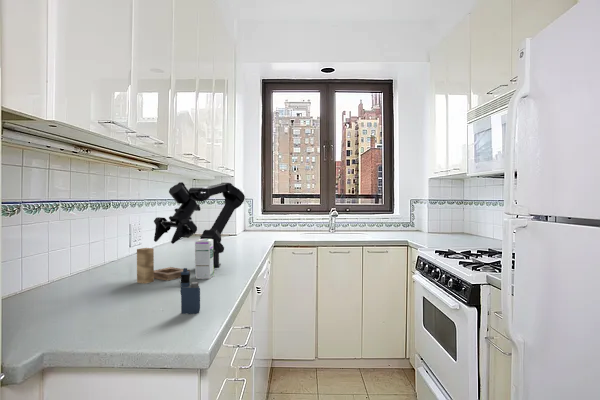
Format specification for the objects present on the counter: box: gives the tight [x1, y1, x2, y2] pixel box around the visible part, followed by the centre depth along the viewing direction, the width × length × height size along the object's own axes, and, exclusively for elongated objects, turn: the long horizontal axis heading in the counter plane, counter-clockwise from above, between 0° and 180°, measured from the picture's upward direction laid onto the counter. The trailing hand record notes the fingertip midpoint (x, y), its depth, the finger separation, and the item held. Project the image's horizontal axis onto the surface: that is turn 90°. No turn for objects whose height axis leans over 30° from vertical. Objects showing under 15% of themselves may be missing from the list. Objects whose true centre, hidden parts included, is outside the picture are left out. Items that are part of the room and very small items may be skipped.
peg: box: [136, 247, 155, 285], centre depth 144 cm, size 4×4×12 cm
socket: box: [154, 266, 191, 281], centre depth 154 cm, size 11×11×2 cm
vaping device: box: [179, 267, 201, 315], centre depth 108 cm, size 3×5×12 cm, turn 88°
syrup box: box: [194, 238, 215, 280], centre depth 152 cm, size 6×6×14 cm
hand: (163, 242), depth 151 cm, fingers open, 9 cm apart
